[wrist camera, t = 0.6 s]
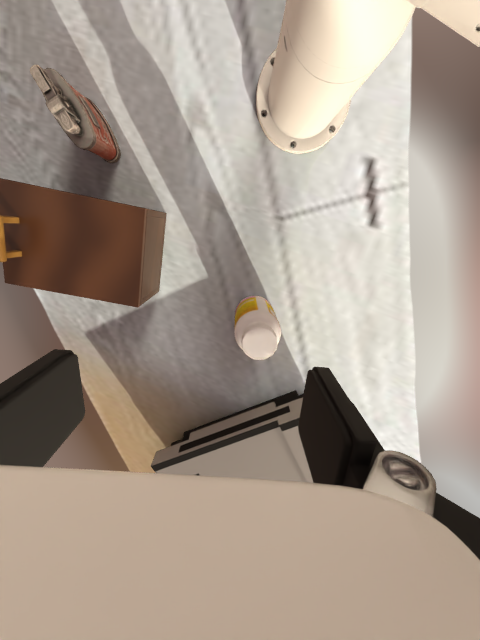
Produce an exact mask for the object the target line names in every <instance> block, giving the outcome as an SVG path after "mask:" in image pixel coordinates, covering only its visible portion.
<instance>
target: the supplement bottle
mask: <svg viewBox="0 0 480 640" xmlns="http://www.w3.org/2000/svg"><path fill="white" fill-rule="evenodd" d="M234 334H235V339H236V342H237V344H238V345H239V347H240V348H241V349H242V350H243V351H244V353H245V354H246V355H247V356H248V357H250V358H252V359H255V360H263V359H266V358H269V357H270V356H271V355H273V354H274V352H275V351H276V349H277V345H278V343H279V340H280V337H281V328H280V324H279V322H278V320H277V317H276V315H275V313H274V310H273V308H272V306H271V304H270V303H269V302H268V301H267V300H266V299H265V298H263V297H260V296H249V297H246V298H244V299H243V300H242V301H241V302H240V303H239V304H238V306H237V308H236V311H235V330H234Z"/></svg>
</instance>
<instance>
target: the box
mask: <svg viewBox="0 0 480 640" xmlns="http://www.w3.org/2000/svg"><path fill="white" fill-rule="evenodd" d="M165 223H166V213H164V212H160V211H155V210H150V209H147V217H146V231H145V245H144V259H143V273H142V287H141V301H140V306H141V305H142V304H143V303H144V302H146V301H147V300H148V299H150V298H151V297H152V296H154V295H155V294H156V293H158V292H159V286H160V276H161V265H162V255H163V244H164V233H165Z"/></svg>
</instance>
